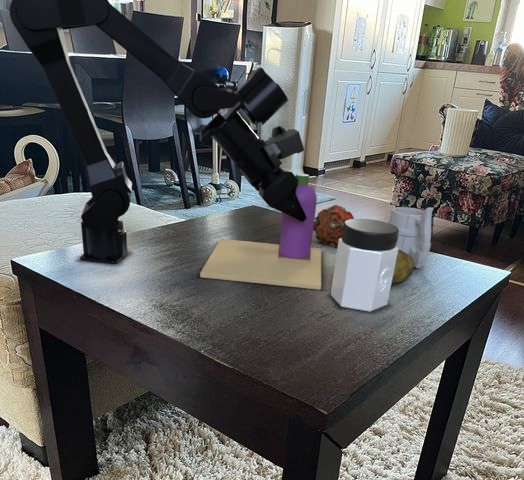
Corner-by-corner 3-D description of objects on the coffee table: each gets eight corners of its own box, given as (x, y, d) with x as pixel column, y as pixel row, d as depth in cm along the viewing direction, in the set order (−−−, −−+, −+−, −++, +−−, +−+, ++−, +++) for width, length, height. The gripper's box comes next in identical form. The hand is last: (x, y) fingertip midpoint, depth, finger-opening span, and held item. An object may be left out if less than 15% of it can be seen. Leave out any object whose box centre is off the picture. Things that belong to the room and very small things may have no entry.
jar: (362, 316, 79) (376, 237, 73) (320, 298, 84) (331, 223, 78) (396, 302, 85) (411, 228, 79) (355, 286, 90) (366, 215, 84)
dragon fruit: (336, 261, 106) (318, 251, 117) (371, 236, 105) (350, 228, 116) (315, 225, 102) (298, 218, 113) (351, 199, 102) (330, 194, 113)
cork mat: (200, 277, 88) (200, 272, 88) (220, 242, 106) (220, 238, 105) (320, 289, 87) (321, 284, 87) (320, 252, 105) (321, 248, 104)
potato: (421, 292, 90) (431, 245, 86) (345, 288, 89) (353, 241, 85) (407, 274, 97) (416, 231, 93) (337, 270, 96) (343, 227, 92)
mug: (406, 255, 107) (418, 194, 102) (439, 276, 98) (455, 210, 92) (372, 256, 105) (383, 194, 100) (402, 277, 95) (417, 210, 90)
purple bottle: (293, 260, 97) (301, 179, 90) (271, 251, 101) (278, 172, 94) (316, 255, 100) (326, 177, 93) (295, 246, 104) (303, 170, 97)
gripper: (291, 116, 80) (349, 194, 87) (266, 105, 96) (317, 172, 103) (236, 168, 82) (298, 240, 89) (221, 149, 98) (274, 211, 105)
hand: (298, 213), depth 97 cm, fingers open, 9 cm apart
